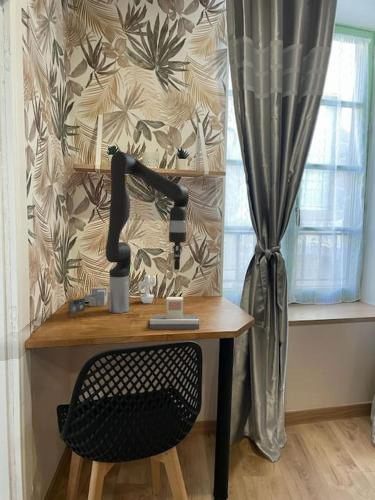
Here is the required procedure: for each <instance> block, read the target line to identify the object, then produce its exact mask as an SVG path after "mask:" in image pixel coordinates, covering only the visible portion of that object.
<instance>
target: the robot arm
mask: <svg viewBox="0 0 375 500" xmlns="http://www.w3.org/2000/svg"><path fill="white" fill-rule="evenodd" d="M126 175H131V176H135V177H137V178H139V179H140V180H142V181H143V182H144V183H145V184H146V185H148V186H149V187H150V188H153V189H154V190H155V191H157V192H159V193H160V194H162V195H163V196H164V197H166V198H167V199H169V200H171V201H173V206H172V207H171V208H170V211H169V223H168V224H169V225H168V242H169V243H174V245H173V246H172V256H173V261H174V263H173V265H174V267H173V269H174V271H175V270H177V271H178V270H180V261H181V257H182V249H183V247H182V246H181V243H186V242H187V209H188V204H189V198H190V194H189V190H188V188H187V187H186V186H184V185H180V184H177V183H176V182H174V181H171V180H170V178H168V177H167V176H164V175H163V174H161V173H159V172H157V171H155V170H154V169H152V168H150V167H147V166H146V165H144V164H143V163H142V162H141V161H140V160H138V159H137V158H136V157H135V156H133V155H132V154H130V153H127V152H124V151H122V150H121V151H120V150H118V151H115V152H114V153H113V154H112V156H111V158H110V181H111V182H110V184H111V185H110V187H111V188H110V202H109V220H108V231H107V238H106V244H105V257H106V260H107V261H108V263H111V264H115V263H116V264H115V266H114V267H113V268H112V269H110V270H109V274H108V275H109V292H108V313H113V314H120V313H121V314H122V313H128V312H129V311H130V271H131V262H132V260H131V259H132V253H131V250H132V249H131V247H130V245H129V244H128V243H126V242H120V237H121V233H122V230H123V229H124V227H125V225H126V224H127V223H128V220H129V218H130V213H131V212H130V211H131V200H130V196H129V193H128V189H127V187H126Z"/></svg>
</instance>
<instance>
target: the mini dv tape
mask: <svg viewBox="0 0 375 500" xmlns="http://www.w3.org/2000/svg"><path fill="white" fill-rule="evenodd" d="M85 305H86V303H85V299H84V297H83V298H79V299H75V300H70V301H68V315H73V314H78V313H80V312H84V311H85V308H86V307H85Z"/></svg>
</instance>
